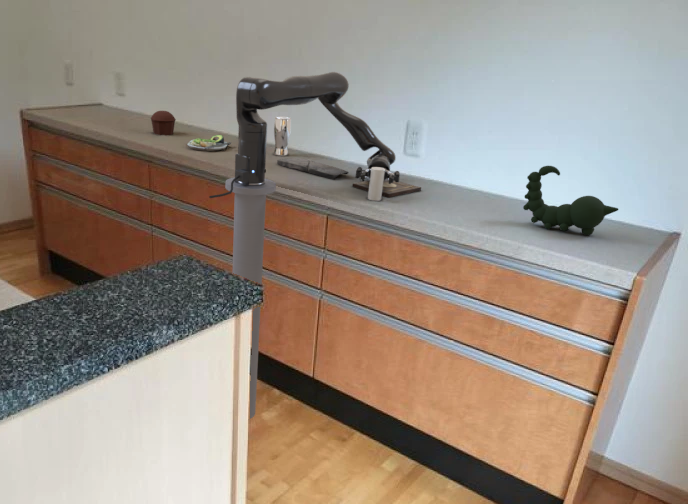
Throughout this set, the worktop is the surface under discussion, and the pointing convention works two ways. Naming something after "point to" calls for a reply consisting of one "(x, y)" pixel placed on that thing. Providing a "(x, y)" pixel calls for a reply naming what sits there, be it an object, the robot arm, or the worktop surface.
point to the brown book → (390, 188)
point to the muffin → (163, 123)
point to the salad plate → (209, 144)
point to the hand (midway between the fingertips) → (376, 179)
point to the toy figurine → (564, 207)
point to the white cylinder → (376, 183)
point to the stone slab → (312, 167)
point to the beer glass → (282, 135)
